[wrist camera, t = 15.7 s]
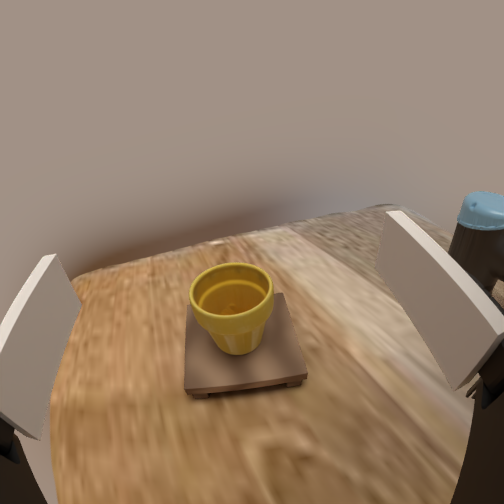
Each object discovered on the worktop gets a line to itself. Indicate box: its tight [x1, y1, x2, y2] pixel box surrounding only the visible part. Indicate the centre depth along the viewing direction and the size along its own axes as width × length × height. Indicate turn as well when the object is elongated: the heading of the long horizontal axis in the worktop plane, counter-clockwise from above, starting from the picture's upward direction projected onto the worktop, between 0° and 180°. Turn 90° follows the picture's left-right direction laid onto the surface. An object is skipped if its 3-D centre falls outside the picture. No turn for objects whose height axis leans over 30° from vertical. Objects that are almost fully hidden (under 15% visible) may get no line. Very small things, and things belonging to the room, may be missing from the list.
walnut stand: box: [184, 293, 308, 399], centre depth 40 cm, size 16×16×4 cm
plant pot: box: [189, 263, 274, 355], centre depth 37 cm, size 10×10×10 cm
